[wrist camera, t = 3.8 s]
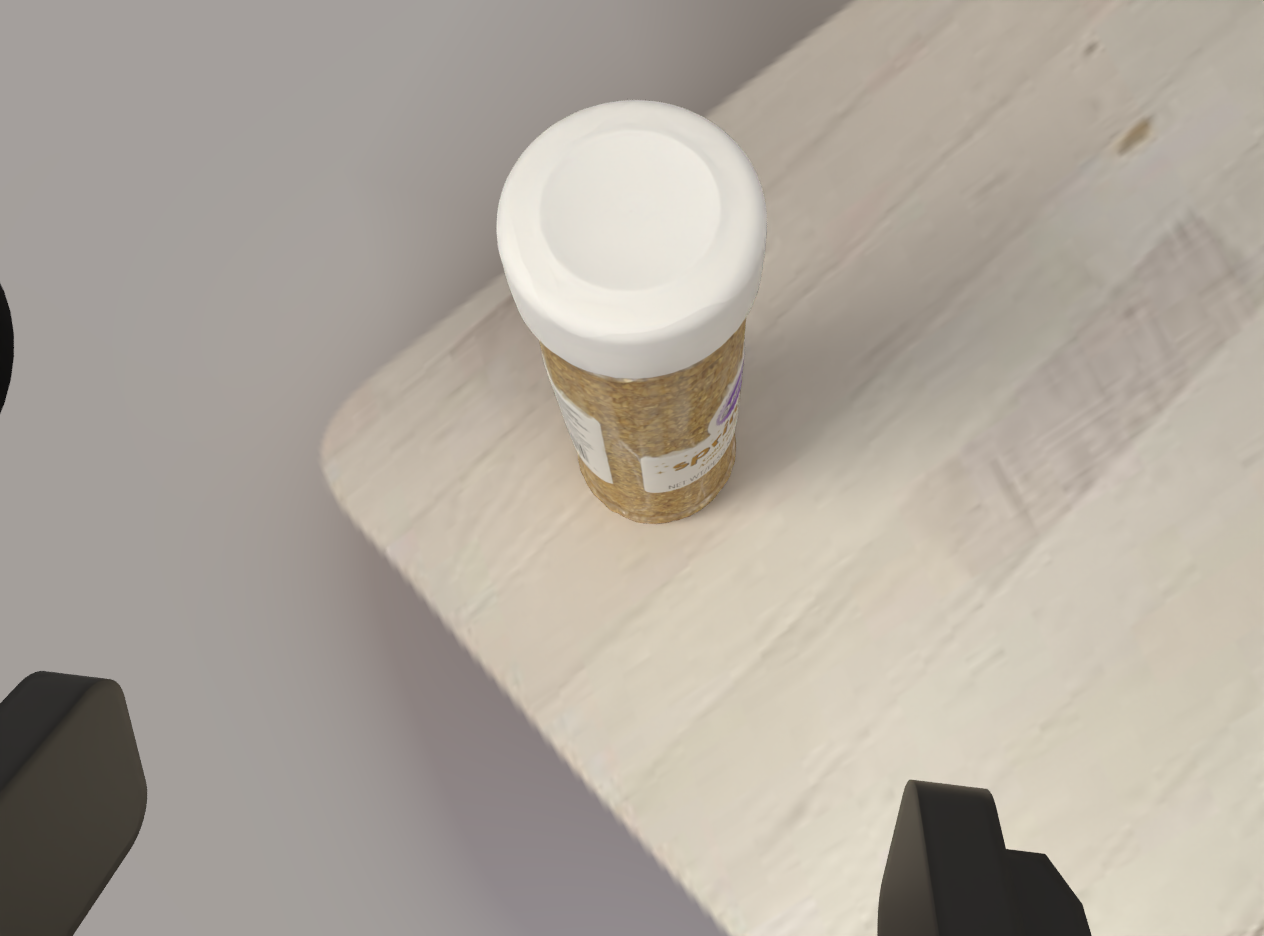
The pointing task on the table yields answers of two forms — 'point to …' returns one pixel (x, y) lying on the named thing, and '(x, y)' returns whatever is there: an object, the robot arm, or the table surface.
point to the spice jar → (639, 294)
